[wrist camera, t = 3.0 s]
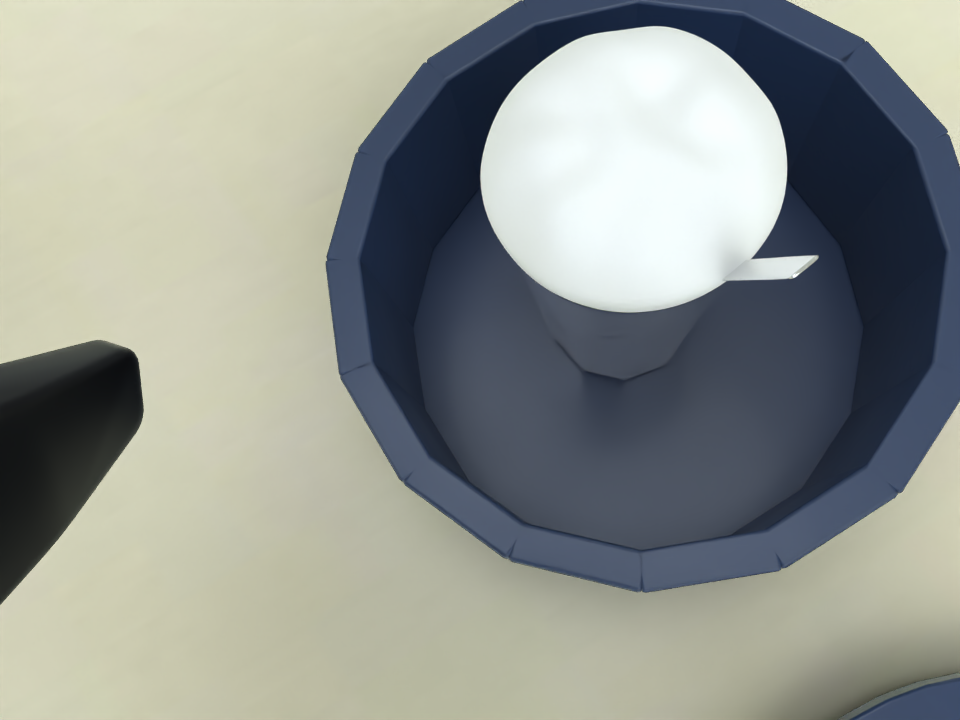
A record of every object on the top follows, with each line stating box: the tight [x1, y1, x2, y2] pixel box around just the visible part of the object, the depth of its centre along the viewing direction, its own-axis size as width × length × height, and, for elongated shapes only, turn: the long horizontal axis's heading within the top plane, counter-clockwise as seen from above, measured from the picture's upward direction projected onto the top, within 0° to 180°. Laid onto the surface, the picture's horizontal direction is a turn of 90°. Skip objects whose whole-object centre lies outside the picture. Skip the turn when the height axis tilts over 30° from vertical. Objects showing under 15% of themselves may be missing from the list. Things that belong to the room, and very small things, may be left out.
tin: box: [326, 0, 960, 593], centre depth 18 cm, size 12×12×5 cm
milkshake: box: [480, 26, 818, 381], centre depth 16 cm, size 5×5×10 cm
